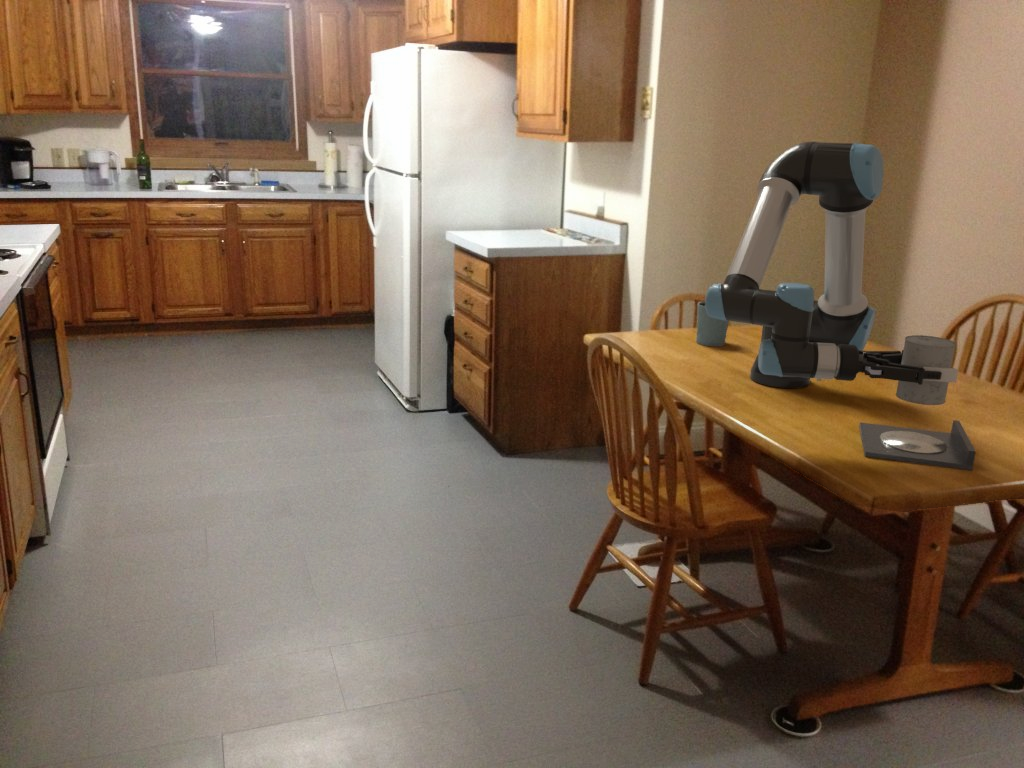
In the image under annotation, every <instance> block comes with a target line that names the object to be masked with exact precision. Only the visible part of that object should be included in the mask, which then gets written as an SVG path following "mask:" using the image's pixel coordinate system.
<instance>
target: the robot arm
mask: <svg viewBox="0 0 1024 768" xmlns="http://www.w3.org/2000/svg"><path fill="white" fill-rule="evenodd" d="M883 180H884V160H883V155H882V153H881V151H880V149H879V148H878V147H877V146H875V145H873V144H865V143H864V144H863V143H860V142H854V143H849V142H845V143H843V142H819V141H804V142H800V143H797V144H795V145H793V146H790V147H789V148H788V149H786V150H785V151H783V152H782V153H780V154H779V155H777V157H775V158H774V160H773V161H771V163H770V164H769V165H768V166H767V168H766V169H765V170H764V172H763V174H762V175H761V177H760V179H759V182H758V184H757V187H756V192H757V198H756V201H755V203H754V206H753V209H752V211H751V214H750V217H749V218H748V221H747V223H746V226H745V228H744V231H743V234H742V236H741V239H740V242H739V244H738V246H737V248H736V251H735V254H734V256H733V258H732V262H731V264H730V266H729V268H728V271H727V273H726V277H725V278H724V281H723V283H713V284H711V285H710V287H708V289H707V291H706V295H705V301H704V302H705V309H706V313H707V314H708V316H710V317H712V318H716V319H720V320H724V321H729V322H733V323H734V322H736V323H743V324H750V325H751V324H752V325H756V326H761V327H762V331H761V338H760V339H761V341H760V343H759V344H760V345H759V349H758V353H757V355H756V357H755V360H754V362H753V364H752V366H751V368H750V374H749V375H750V376H749V378H750V379H751V380H752V381H754V382H755V383H758V384H761V385H764V386H769V387H773V388H774V387H775V388H782V389H783V388H784V389H797V388H798V389H800V388H805V387H807V386H809V385H810V383H811V379H816V381H818V382H821V381H822V379H824V380H833V379H835V380H836V381H846V382H847V381H849V382H851V381H854V380H855V379H856V377H857V375H858V373H861V374H864V375H865V376H868V377H869V378H870V379H882V380H883V379H884V380H891V381H897V382H898V381H906V382H914V383H918V384H919V385H922V382H923V380H924V381H939V382H949V383H957V380H958V375H959V368H952V367H951V368H939V367H924V366H923V368H919V367H913V366H907V365H902V364H901V362H902V356H903V350H904V349H902V350H864V349H865V348H866V346H867V343H868V341H869V337H870V336H871V331H872V328H873V325H874V321H875V316H876V309H875V308H873V307H872V306H869V301H868V298H867V296H866V295H865V294H864V293H862V292H863V276H864V275H863V272H864V253H865V249H864V248H865V246H864V245H865V235H866V233H865V232H866V231H865V229H866V210H867V209H868V208H870V207H871V206H872V205H873V203H874V200H876V199H878V198H879V196H880V195H881V192H882V189H883V184H884V183H883V182H884V181H883ZM802 195H809V196H810V195H813V196H818V205H819V207H820V208H821V209H822V210H823V211H825V231H824V233H825V235H824V236H825V237H824V238H825V241H824V242H825V243H824V247H825V248H824V251H825V252H824V293H823V294H822V295H820V296H819V298H818V299H817V300H815V290H814V288H813V287H812V286H810V285H809V284H805V283H800V282H782V283H779V284H778V285H777V288H776V290H769V289H762V288H761V285H762V283H763V279H764V277H765V274H766V272H767V270H768V266H769V263H770V261H771V259H772V256H773V253H774V252H775V248H776V246H777V244H778V242H779V241H778V240H779V238H780V236H781V233H782V231H783V228H784V225H785V223H786V221H787V220H786V219H787V217H788V215H789V214H790V213H789V212H790V210H791V207H792V206H795V204H797V202H798V201H799V200H800V196H802ZM760 288H761V289H760ZM916 374H917V377H916Z"/></svg>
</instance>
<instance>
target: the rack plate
mask: <svg viewBox="0 0 1024 768" xmlns="http://www.w3.org/2000/svg"><path fill="white" fill-rule="evenodd" d="M858 428H859V432H860V438H861V442H862V449H863V455H864V457H866V458H873V459H874V458H875V459H882V460H888V461H896V462H903V463H905V462H906V463H912V464H913V463H914V464H920V465H928V466H937V467H941V468H942V467H943V468H951V469H959V470H968V471H973V468H974V463H975V457H976V450H975V448H974V446H973V444H972V442H971V440H970V438H969V436H968V435H967V433H966V430H965V428H964V427H963V425H962V423H961V421H960V420H955V419H954V420H952V426H951V431H950V432H945V431H937V430H935V431H934V430H927V429H921V428H920V429H918V428H910V427H905V426H894V425H888V424H887V425H886V424H880V423H879V424H878V423H870V422H862V421H861V422H859V426H858Z"/></svg>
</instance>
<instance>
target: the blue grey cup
mask: <svg viewBox="0 0 1024 768" xmlns="http://www.w3.org/2000/svg"><path fill="white" fill-rule="evenodd" d="M696 320H697V321H696V325H697V326H696V328H697V329H696V339H695V340H696V343H697V344H698V345H701V346H706V347H722V346H724V345H725V344H726V338H727V332H728V328H729V322H730V321H724V320H720V319H716V318H712V317H710V316H708V314H707V313H706V309H705V301H699V302H698V303H697V318H696Z"/></svg>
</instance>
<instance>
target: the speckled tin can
mask: <svg viewBox="0 0 1024 768" xmlns="http://www.w3.org/2000/svg"><path fill="white" fill-rule="evenodd" d="M956 346H957V343H956V342H955V341H953V340H951V339H948V338H944V337H939V336H938V337H937V336H933V335H932V336H930V335H923V334H921V335H920V334H919V335H918V334H916V335H915V334H913V335H907V336H905V337H904V344H903V349H902V350H903V356H902V362H901V364H902V365H907V366H913V367H919V368H923V366H924V367H939V368H952V366H953V359H954V355H955V349H956ZM916 377H917V374H916ZM949 383H950V382H939V381H924V380H923V382H922V385H919V384H918V383H914V382H906V381H898V380H897V387H896V393H895V397H896V398H897V399H899V400H902V401H904V402H908V403H912V404H917V405H923V406H924V405H925V406H941V405H944V404H945V403H946V400H947V399H946V398H947V392H948V386H949Z"/></svg>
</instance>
